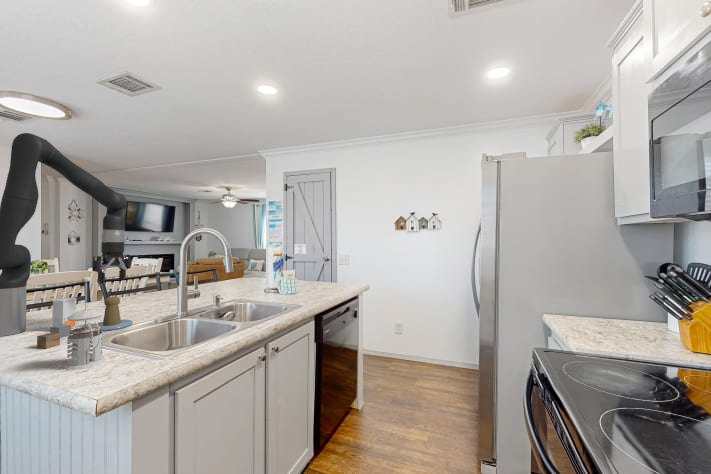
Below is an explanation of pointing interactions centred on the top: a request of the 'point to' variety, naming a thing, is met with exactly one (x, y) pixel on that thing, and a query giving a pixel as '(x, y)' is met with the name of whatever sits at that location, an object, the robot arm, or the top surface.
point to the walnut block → (48, 340)
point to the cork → (111, 311)
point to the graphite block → (61, 330)
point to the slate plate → (114, 327)
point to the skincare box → (63, 311)
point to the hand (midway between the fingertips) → (112, 280)
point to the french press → (84, 340)
